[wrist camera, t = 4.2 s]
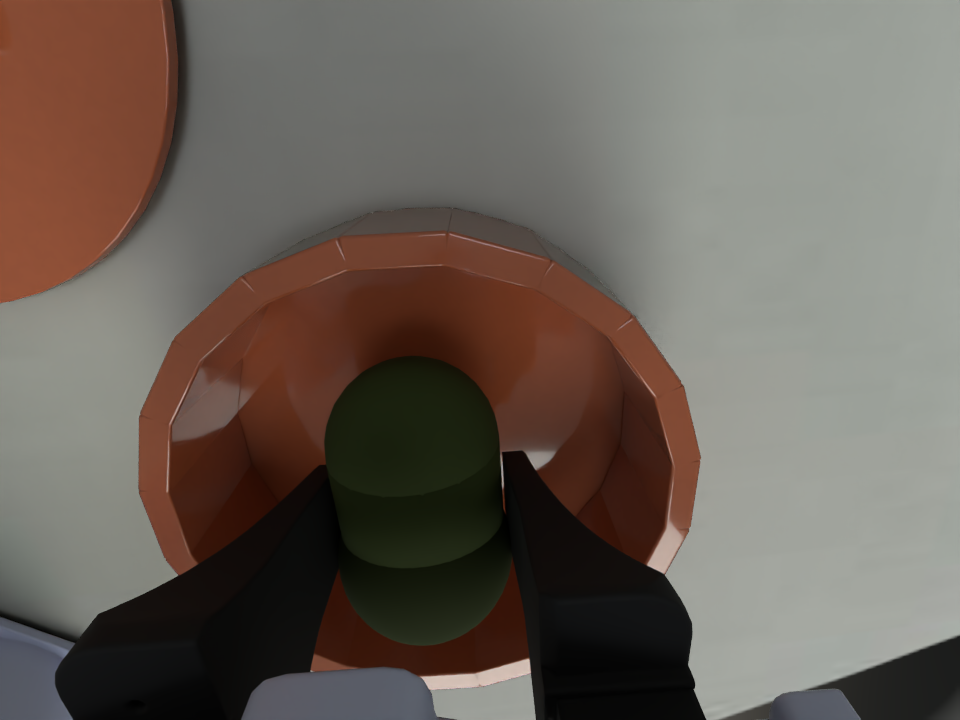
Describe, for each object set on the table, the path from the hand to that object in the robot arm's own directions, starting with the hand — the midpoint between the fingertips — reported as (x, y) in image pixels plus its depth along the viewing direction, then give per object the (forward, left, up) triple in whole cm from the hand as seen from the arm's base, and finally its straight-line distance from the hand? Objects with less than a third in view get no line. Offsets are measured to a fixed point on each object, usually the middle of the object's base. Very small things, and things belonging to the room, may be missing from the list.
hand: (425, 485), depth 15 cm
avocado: (0, 0, -1) cm, 1 cm away
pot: (0, 0, -4) cm, 4 cm away
